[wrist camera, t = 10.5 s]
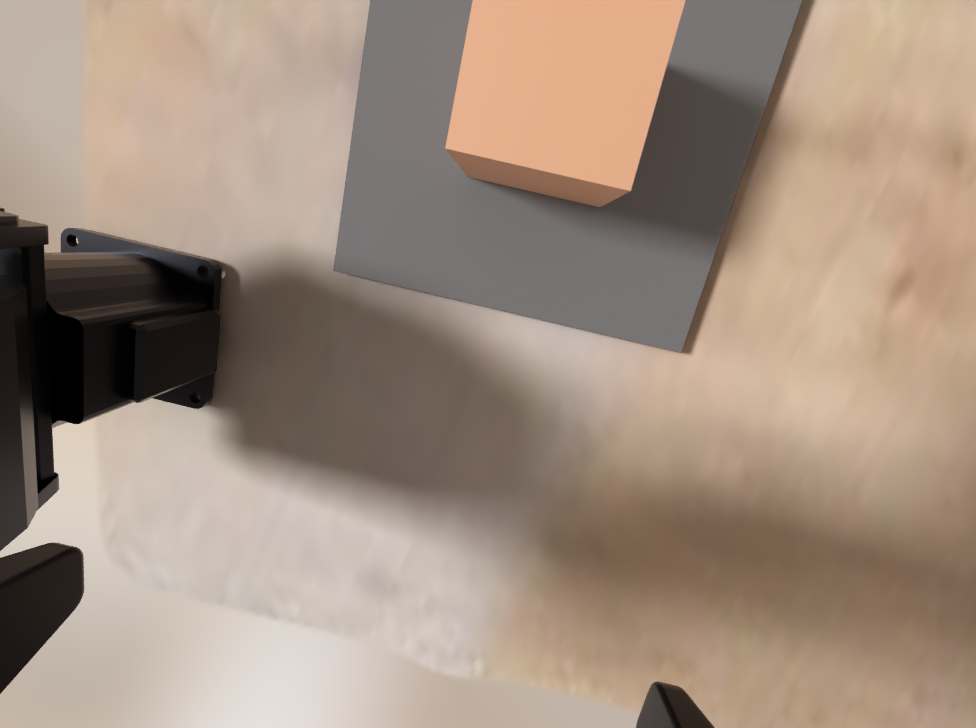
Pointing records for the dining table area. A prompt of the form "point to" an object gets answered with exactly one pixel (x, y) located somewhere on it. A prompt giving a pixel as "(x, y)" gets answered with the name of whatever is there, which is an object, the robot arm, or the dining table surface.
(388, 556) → the dining table surface
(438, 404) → the dining table surface
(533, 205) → the charcoal mat
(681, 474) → the dining table surface
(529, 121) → the peach block
